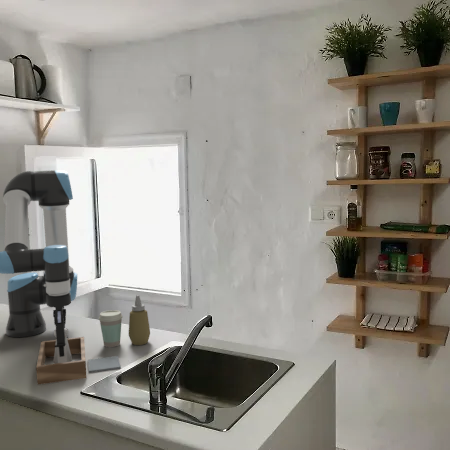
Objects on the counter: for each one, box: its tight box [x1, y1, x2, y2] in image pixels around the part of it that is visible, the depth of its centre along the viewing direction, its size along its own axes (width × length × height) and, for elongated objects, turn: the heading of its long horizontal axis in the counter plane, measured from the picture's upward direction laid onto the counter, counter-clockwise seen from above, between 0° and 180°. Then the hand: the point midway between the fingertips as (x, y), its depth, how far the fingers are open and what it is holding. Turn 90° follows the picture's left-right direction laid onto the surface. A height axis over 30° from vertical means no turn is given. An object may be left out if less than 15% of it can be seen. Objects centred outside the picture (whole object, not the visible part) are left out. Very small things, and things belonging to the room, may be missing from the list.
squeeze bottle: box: [128, 294, 151, 346], centre depth 185 cm, size 8×8×18 cm
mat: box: [87, 355, 121, 373], centre depth 166 cm, size 10×10×1 cm
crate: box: [35, 336, 88, 385], centre depth 165 cm, size 24×14×6 cm, turn 17°
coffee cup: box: [98, 309, 123, 348], centre depth 185 cm, size 8×8×12 cm
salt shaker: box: [53, 327, 73, 364], centre depth 165 cm, size 6×6×13 cm
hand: (62, 361), depth 165 cm, fingers closed on salt shaker, 6 cm apart
